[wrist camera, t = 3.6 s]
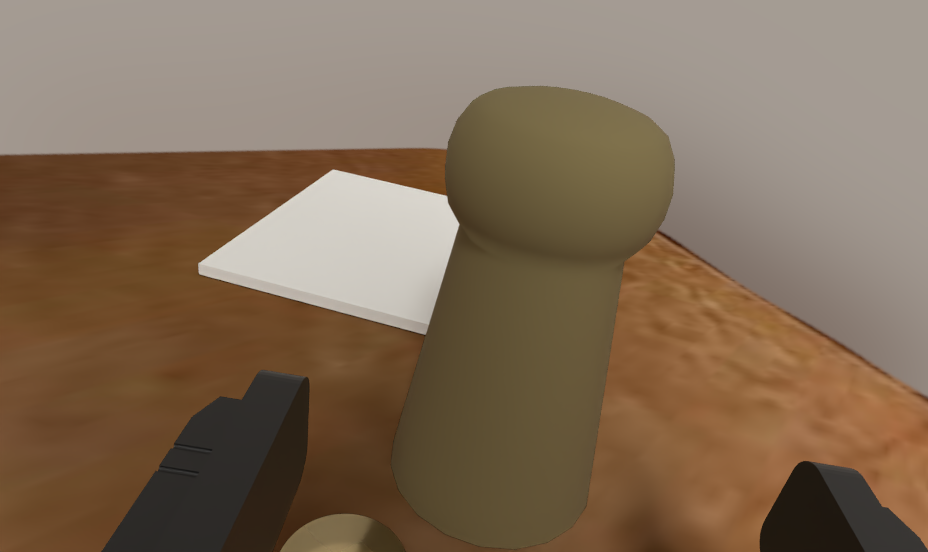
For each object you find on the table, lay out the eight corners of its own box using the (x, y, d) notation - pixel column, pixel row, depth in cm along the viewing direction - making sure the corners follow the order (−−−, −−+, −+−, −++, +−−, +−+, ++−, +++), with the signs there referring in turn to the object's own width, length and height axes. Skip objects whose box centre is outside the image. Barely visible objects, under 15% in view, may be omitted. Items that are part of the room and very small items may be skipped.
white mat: (198, 274, 26) (198, 263, 25) (332, 177, 37) (333, 169, 37) (507, 356, 24) (509, 346, 23) (548, 228, 35) (550, 220, 35)
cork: (594, 571, 16) (751, 165, 11) (366, 522, 16) (409, 103, 11) (586, 416, 21) (688, 92, 16) (413, 380, 22) (457, 52, 16)
